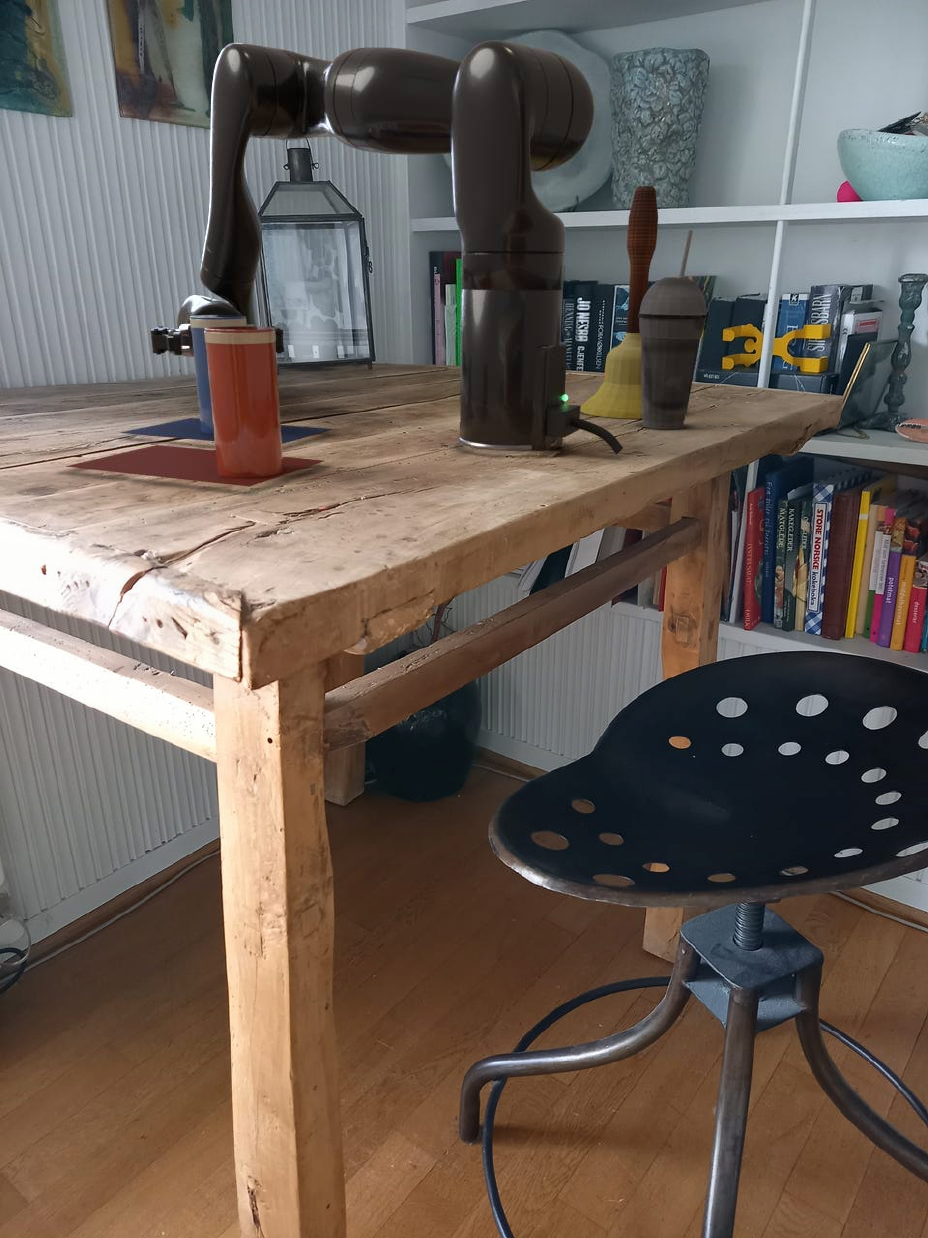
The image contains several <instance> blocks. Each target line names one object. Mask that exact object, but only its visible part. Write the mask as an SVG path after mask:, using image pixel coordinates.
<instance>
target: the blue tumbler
mask: <svg viewBox="0 0 928 1238" xmlns="http://www.w3.org/2000/svg"><path fill="white" fill-rule="evenodd" d="M227 326H247V325H246V318H245V316H239V315H199V316H190V327H191V332H192V342H193V353H194V357H193V361H194V372H195V382H196V384H195V385H196V393H197V402H198V403H197V404H198V414H199V419H200V426H201V432H203V433H206V434H214V428H213V417H212V406H211V395H210V384H209V373H208V362H207V351H206V342H205V337H204V331H205V328H209V327H227Z"/></svg>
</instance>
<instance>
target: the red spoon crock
mask: <svg viewBox="0 0 928 1238" xmlns="http://www.w3.org/2000/svg"><path fill="white" fill-rule="evenodd" d="M204 337H205V342H206V351H207V362H208V373H209V384H210V395H211V406H212V417H213V428H214V439H215V441H214V450H215V451H216V462H217V472H218V474H219V475H222V476H225V477H232V478H259V477H267V476H273V475H277V474H280V473H282V472H283V471H284V467H283V457H284V453H283V452H284V451H283V444H282V436H281V425H282V421H281V409H280V408H281V407H280V394H279V393H280V392H279V390H280V389H279V377H278V376H279V375H278V361H277V352H276V343H275V342H276V333H275V328H273V327H270V326H258V325H256V326H227V327H209V328H205V331H204Z"/></svg>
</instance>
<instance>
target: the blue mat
mask: <svg viewBox="0 0 928 1238" xmlns="http://www.w3.org/2000/svg"><path fill="white" fill-rule="evenodd" d="M332 430H334V428H325V427H315V426H313V427H312V426H303V425H302V426H300V425H287V424H281V436H282V445H284V444H287V443H290V442H294V441H297V440H300V439H304V438H307V437H312V436H314V435H318V434H321V433H325V432H329V431H332ZM119 433H120V434H129V435H138V436H141V435H142V436H148V437H149V436H150V437H161V438H173V439H184V440H194V441H195V440H196V441H206V442H207V441H208V442H215V439H214V434H206V433H203V432H201V426H200V417H197V418H196V417H189V418H183V419H178V420H175V421H174V420H173V421H170V422H165V423H159V424H155V425H151V426H144V427H140V428H135V429H131V430H130V429H129V430H126V431H125V430H124V431H121V432H119Z"/></svg>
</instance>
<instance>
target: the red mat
mask: <svg viewBox="0 0 928 1238" xmlns="http://www.w3.org/2000/svg"><path fill="white" fill-rule="evenodd" d="M323 462H325V460H324V459H323V460H322V459H312V458H301V457H292V456H291V457H289V456H283V467H284V471H283V472H282V473H280V474H277V475H273V476H267V477H259V478H232V477H225V476H222V475H219V474H218V472H217V462H216V451H215V449H205V448H204V449H203V448H196V447H195V448H194V447H185V446H184V447H183V446H174V445H173V446H172V445H161V444H156V445H155V444H154V445H150V446H146V447H142V448H138V449H133V450H130V451H124V452H120V453H116V454H113V455H106V456H103V457H100V458H95V459H90V460H86V461H82V462H77V463H74V464H70V465H69V464H68V465H66V466H65V467H66V468H76V469H83V470H93V471H102V472H113V473H120V474H130V475H138V476H149V477H159V478H166V479H174V480H175V479H176V480H186V481H195V482H202V483H203V482H204V483H212V484H222V485H230V486H231V485H232V486H241V487H252V486H255V485H258V484H261V483H263V482H267V481H270V480H273V479H276V478H279V477H282V476H284V475H288V474H291V473H294V472H296V471H300V470H302V469H307V468H308V467H311V466H314V465H318V464H320V463H323Z"/></svg>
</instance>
